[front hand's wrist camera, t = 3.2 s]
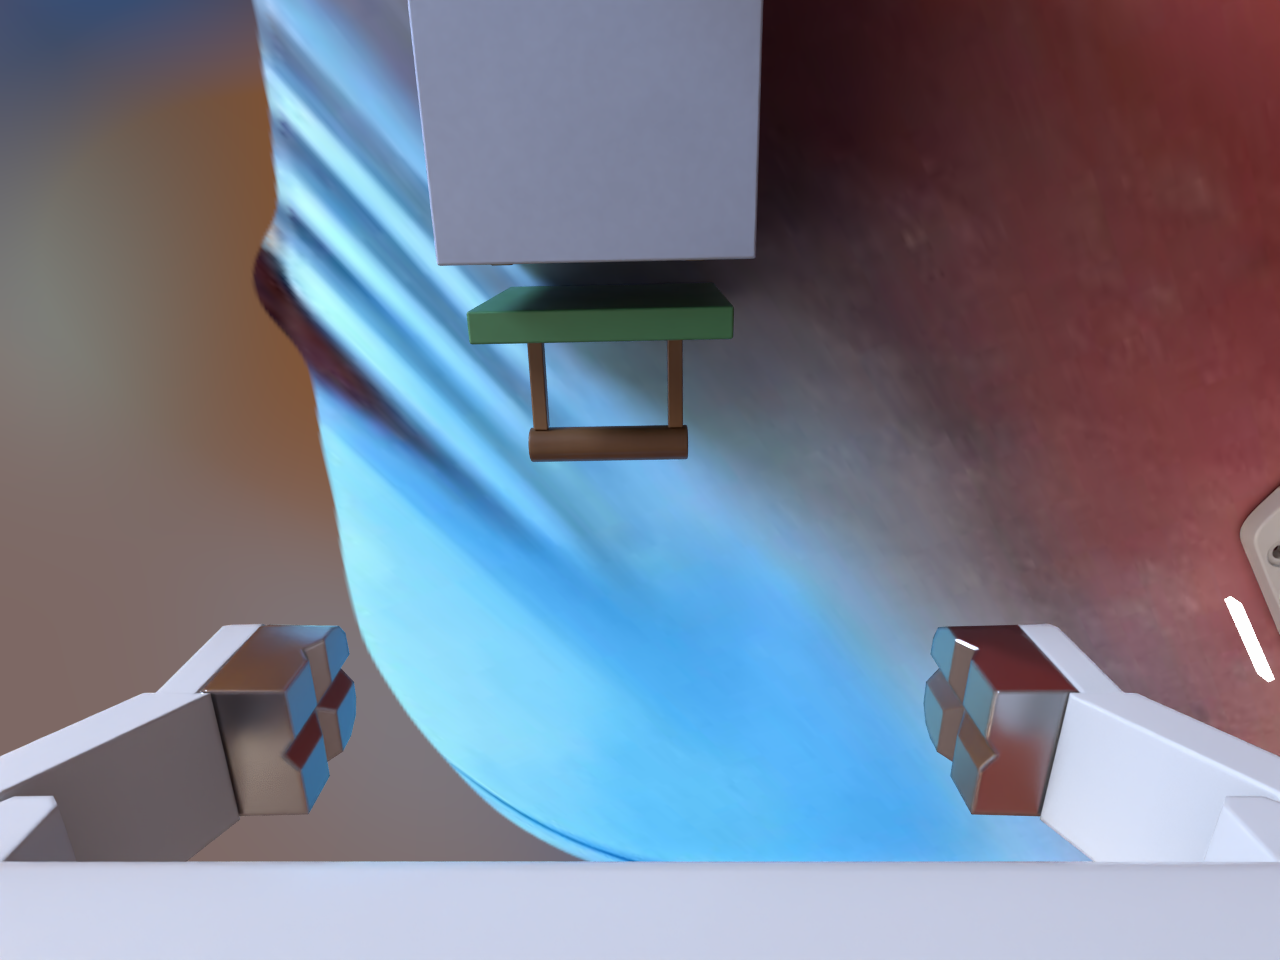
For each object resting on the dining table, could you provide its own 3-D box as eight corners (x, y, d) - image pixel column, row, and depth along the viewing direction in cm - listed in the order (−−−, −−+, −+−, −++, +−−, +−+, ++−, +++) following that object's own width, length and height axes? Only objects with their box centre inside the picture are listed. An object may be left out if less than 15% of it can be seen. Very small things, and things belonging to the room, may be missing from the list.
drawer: (712, 416, 38) (730, 477, 29) (520, 420, 38) (483, 482, 29) (718, -157, 30) (746, -304, 21) (474, -149, 30) (405, -291, 21)
